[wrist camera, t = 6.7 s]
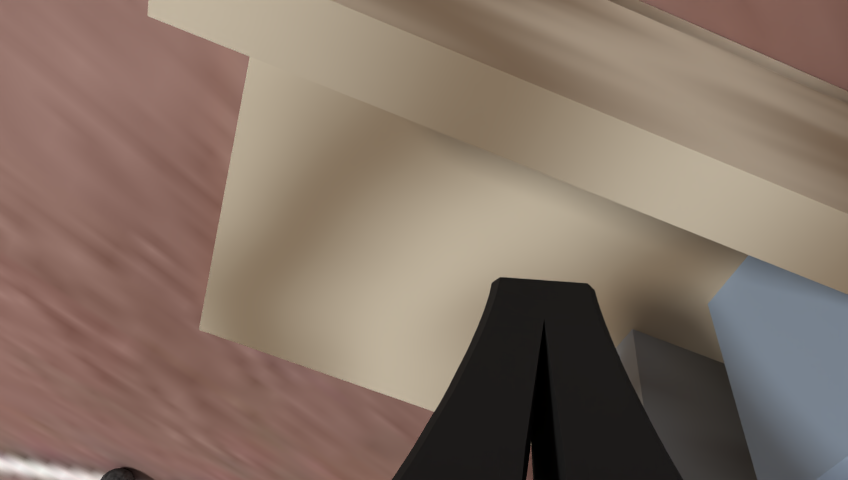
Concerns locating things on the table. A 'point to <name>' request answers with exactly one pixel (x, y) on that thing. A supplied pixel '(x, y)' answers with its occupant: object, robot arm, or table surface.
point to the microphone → (118, 475)
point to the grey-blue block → (786, 369)
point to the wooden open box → (513, 188)
